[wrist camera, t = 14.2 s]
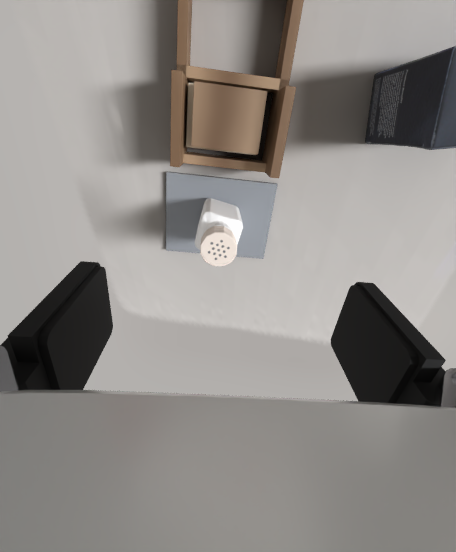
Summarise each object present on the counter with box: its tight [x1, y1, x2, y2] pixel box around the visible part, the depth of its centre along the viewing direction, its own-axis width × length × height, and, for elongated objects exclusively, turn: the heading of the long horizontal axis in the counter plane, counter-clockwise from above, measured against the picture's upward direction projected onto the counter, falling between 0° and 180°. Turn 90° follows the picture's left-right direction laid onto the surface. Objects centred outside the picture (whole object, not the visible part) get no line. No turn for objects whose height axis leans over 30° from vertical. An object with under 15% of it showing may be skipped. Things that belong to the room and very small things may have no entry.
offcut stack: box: [186, 81, 267, 155], centre depth 26 cm, size 7×5×5 cm
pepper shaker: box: [195, 198, 243, 266], centre depth 28 cm, size 4×4×10 cm
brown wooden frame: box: [170, 0, 304, 178], centre depth 24 cm, size 10×14×6 cm, turn 174°
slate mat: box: [166, 172, 277, 259], centre depth 32 cm, size 12×9×1 cm
